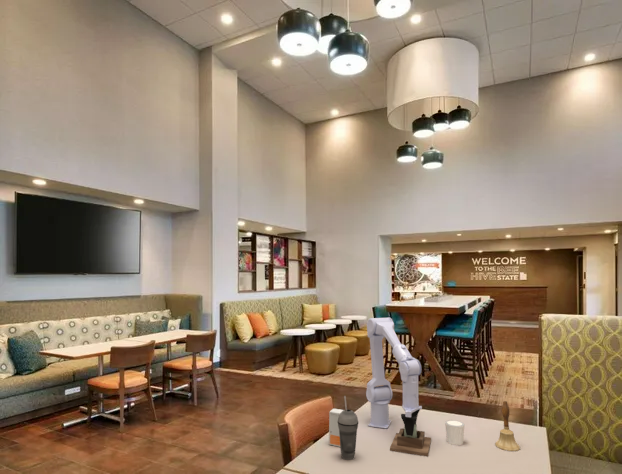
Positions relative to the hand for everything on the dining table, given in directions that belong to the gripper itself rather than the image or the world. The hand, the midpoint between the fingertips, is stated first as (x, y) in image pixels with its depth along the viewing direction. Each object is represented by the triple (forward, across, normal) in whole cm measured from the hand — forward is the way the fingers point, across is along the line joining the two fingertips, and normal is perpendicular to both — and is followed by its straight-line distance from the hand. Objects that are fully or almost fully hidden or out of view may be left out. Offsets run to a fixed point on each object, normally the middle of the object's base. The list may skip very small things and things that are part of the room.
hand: (411, 431), depth 153 cm
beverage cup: (+5, -18, +19) cm, 27 cm away
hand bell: (+5, +12, -33) cm, 35 cm away
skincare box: (+5, -9, +25) cm, 27 cm away
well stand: (+5, 0, 0) cm, 5 cm away
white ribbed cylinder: (+5, +9, -15) cm, 18 cm away
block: (+4, 0, 0) cm, 4 cm away
